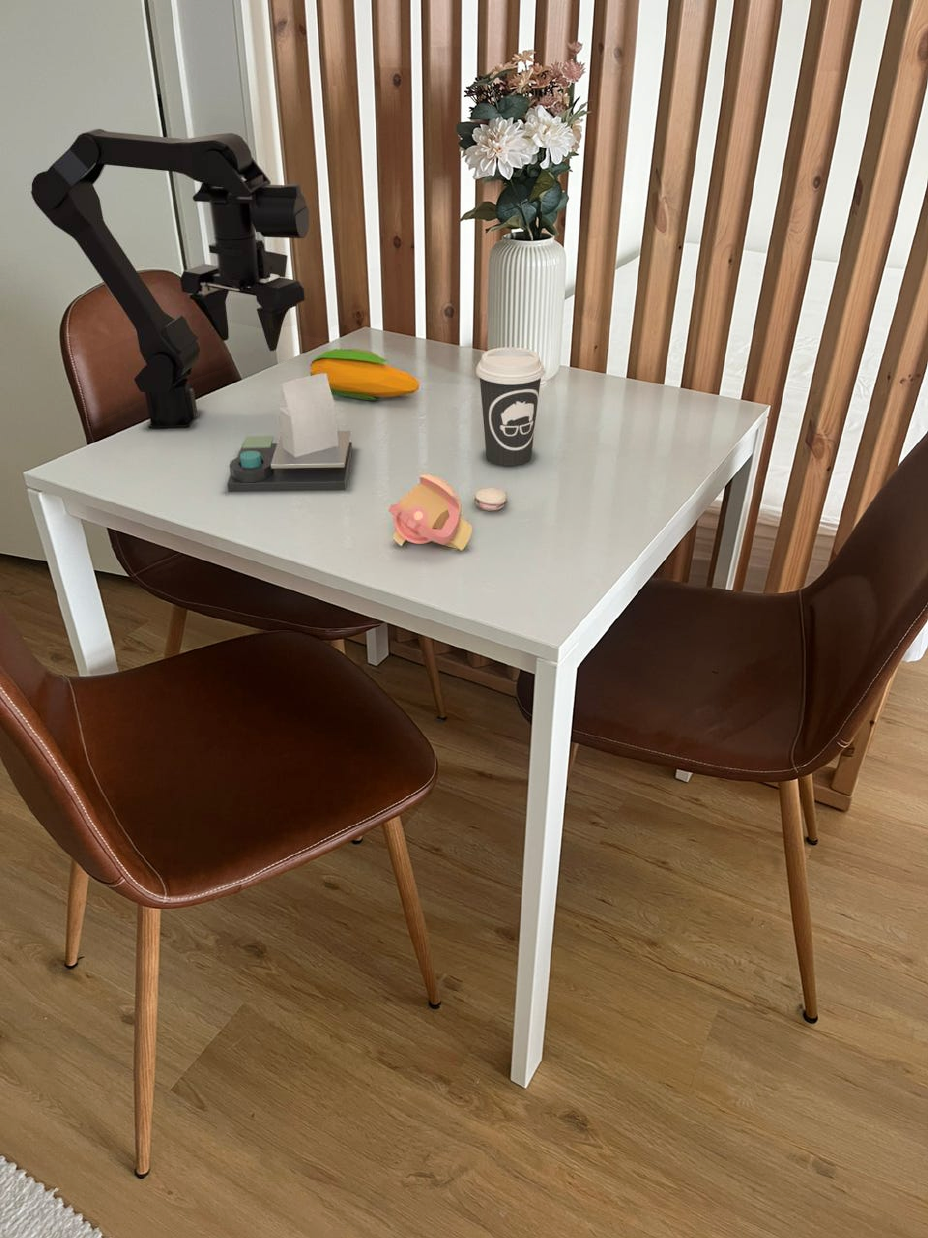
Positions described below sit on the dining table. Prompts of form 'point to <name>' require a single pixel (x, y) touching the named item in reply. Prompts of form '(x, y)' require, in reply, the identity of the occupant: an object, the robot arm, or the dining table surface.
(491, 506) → the macaroon
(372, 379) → the corn
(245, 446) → the scale display
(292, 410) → the tea bag
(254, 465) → the button
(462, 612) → the dining table surface
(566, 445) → the dining table surface
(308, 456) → the scale pan
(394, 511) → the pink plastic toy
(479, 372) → the coffee cup
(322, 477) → the scale
